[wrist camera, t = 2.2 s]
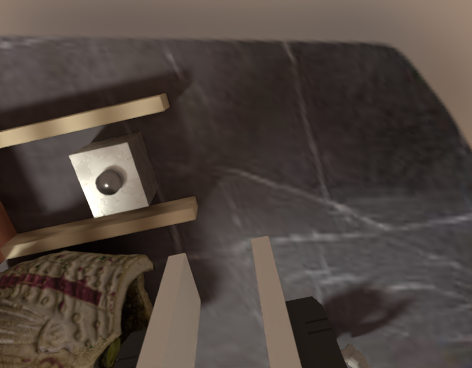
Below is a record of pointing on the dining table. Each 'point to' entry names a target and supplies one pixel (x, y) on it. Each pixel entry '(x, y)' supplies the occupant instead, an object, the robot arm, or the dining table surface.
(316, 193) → the dining table surface
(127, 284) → the sculptural head
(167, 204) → the channel
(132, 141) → the block
